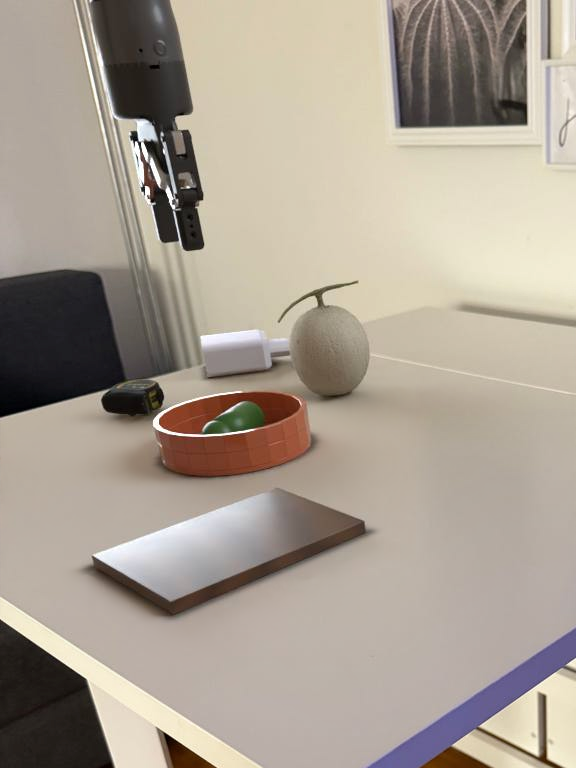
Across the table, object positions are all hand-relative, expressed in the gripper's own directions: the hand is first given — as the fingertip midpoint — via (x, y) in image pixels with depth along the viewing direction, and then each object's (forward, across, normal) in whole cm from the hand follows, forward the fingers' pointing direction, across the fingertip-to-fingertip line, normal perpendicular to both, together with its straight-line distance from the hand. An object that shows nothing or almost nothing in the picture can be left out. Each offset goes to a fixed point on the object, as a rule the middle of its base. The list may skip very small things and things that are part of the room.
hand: (181, 245), depth 95 cm
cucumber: (+22, -2, +2) cm, 22 cm away
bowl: (+23, -2, +2) cm, 23 cm away
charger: (+23, -39, +17) cm, 49 cm away
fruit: (+23, -16, +20) cm, 35 cm away
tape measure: (+23, -26, -4) cm, 34 cm away
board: (+23, +25, -8) cm, 35 cm away
